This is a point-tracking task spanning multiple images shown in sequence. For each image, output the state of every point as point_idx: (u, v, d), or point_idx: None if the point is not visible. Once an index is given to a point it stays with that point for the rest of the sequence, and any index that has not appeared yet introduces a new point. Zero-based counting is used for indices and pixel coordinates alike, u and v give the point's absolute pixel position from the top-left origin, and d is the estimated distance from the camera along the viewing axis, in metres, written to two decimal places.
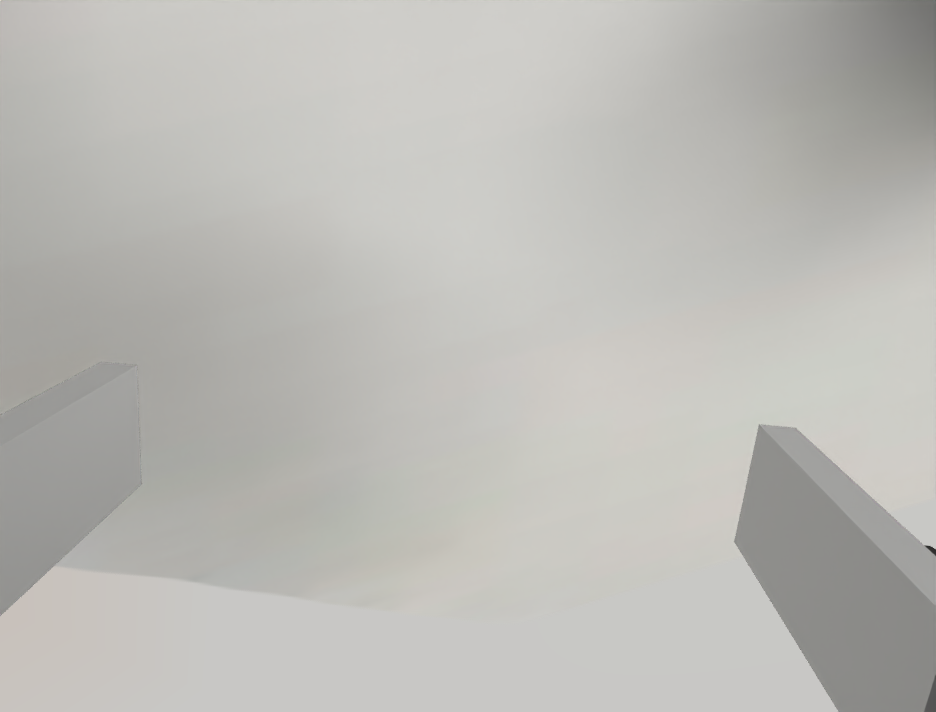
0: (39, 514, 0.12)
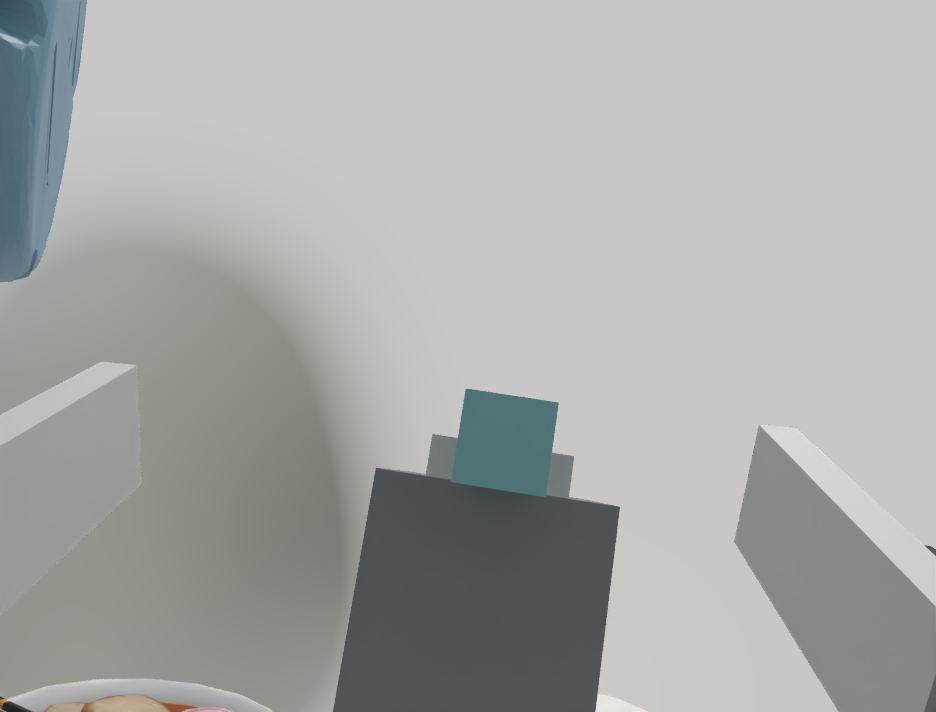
0: (39, 514, 0.12)
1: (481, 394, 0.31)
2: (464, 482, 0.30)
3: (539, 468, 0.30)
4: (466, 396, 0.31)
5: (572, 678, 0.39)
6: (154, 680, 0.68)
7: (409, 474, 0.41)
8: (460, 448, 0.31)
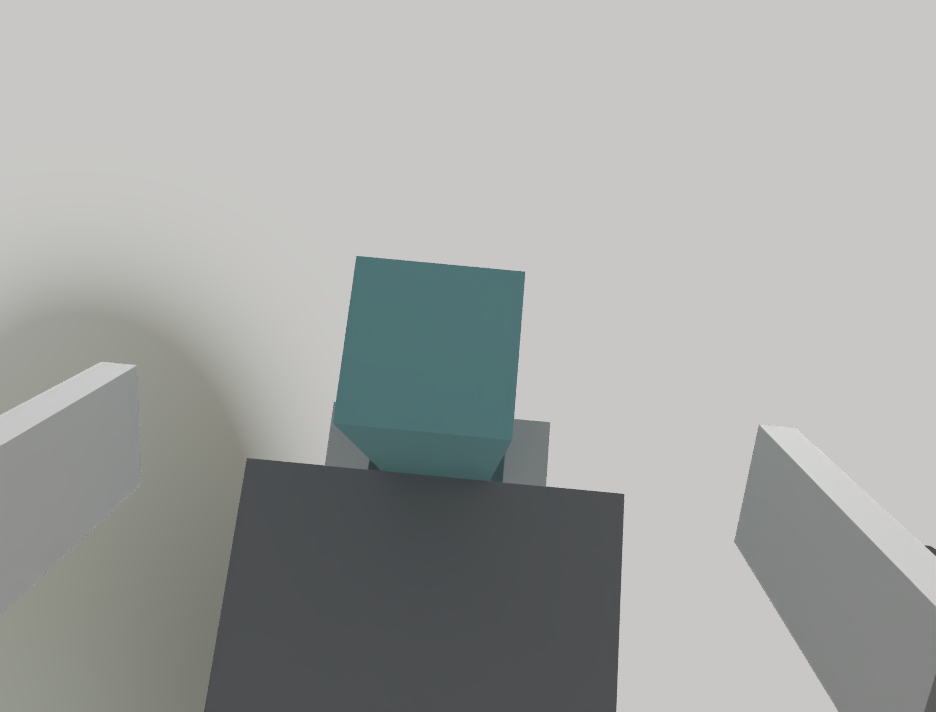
0: (39, 514, 0.12)
1: (384, 265, 0.17)
2: (358, 422, 0.16)
3: (497, 387, 0.16)
4: (358, 269, 0.17)
5: None
6: None
7: (299, 465, 0.27)
8: (350, 360, 0.16)
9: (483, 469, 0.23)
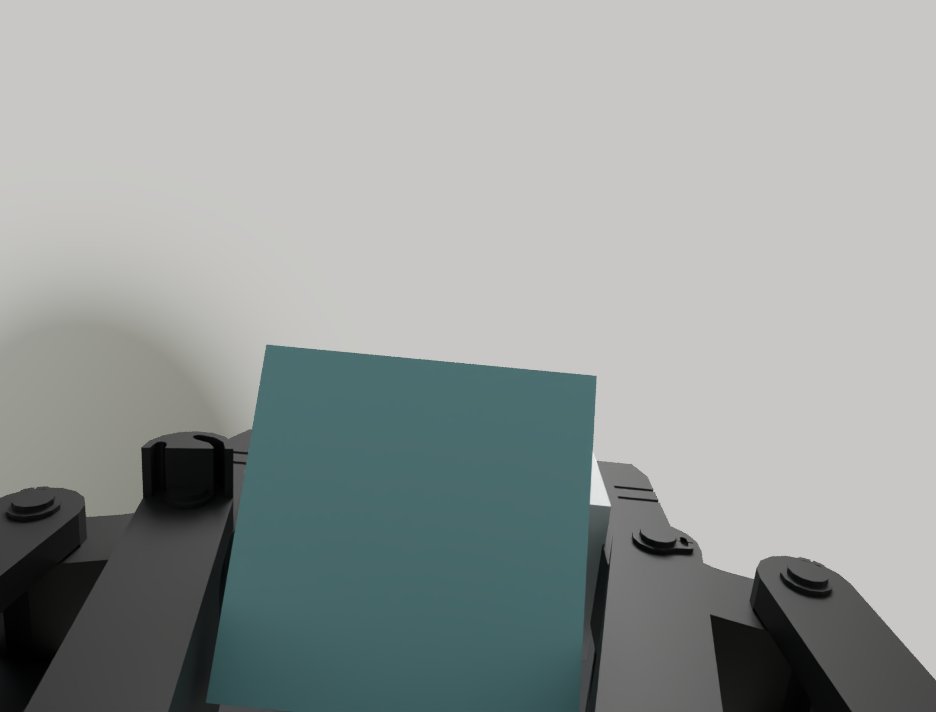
0: None
1: (322, 363, 0.09)
2: (258, 701, 0.08)
3: (544, 622, 0.08)
4: (268, 372, 0.09)
5: None
6: None
7: None
8: (246, 564, 0.08)
9: None
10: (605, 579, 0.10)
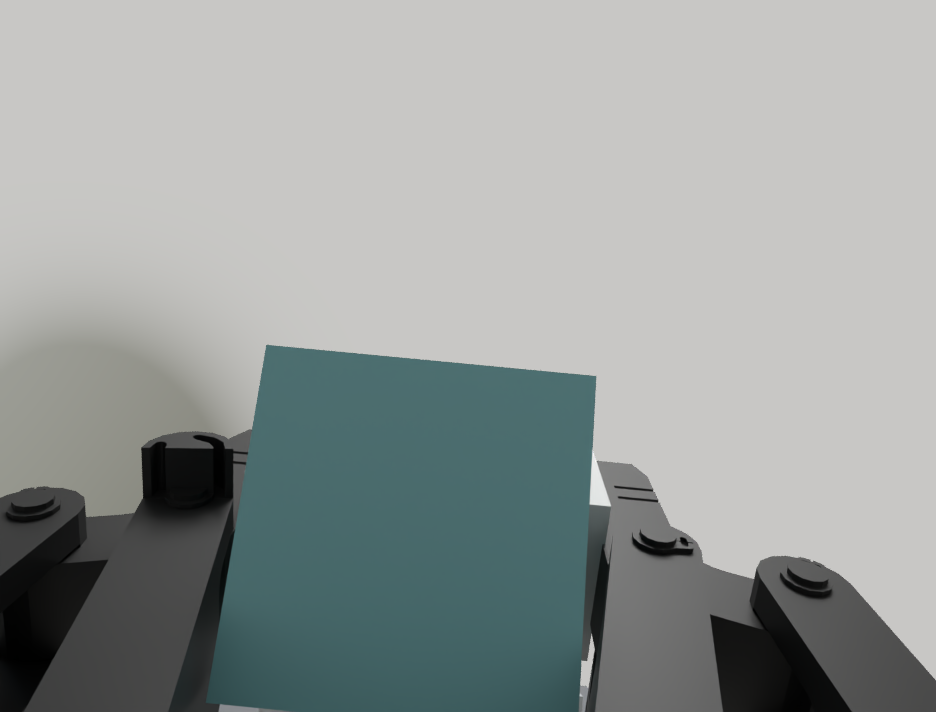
0: None
1: (321, 363, 0.09)
2: (257, 701, 0.08)
3: (544, 622, 0.08)
4: (268, 372, 0.09)
5: None
6: None
7: None
8: (247, 564, 0.08)
9: None
10: (606, 579, 0.10)
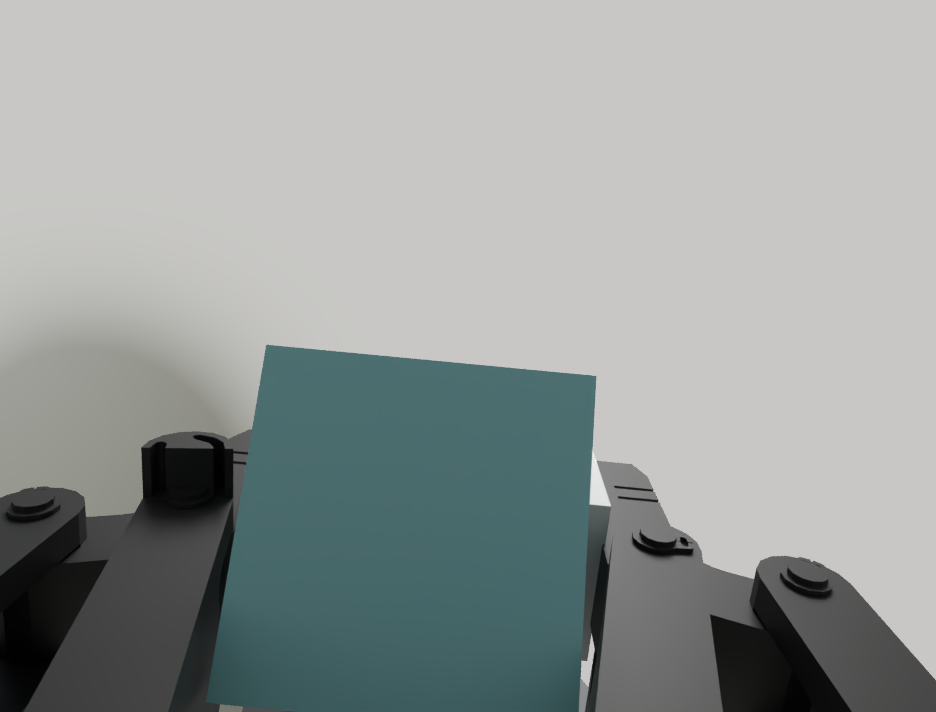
0: None
1: (321, 362, 0.09)
2: (258, 701, 0.08)
3: (544, 622, 0.08)
4: (269, 372, 0.09)
5: None
6: None
7: None
8: (247, 564, 0.08)
9: None
10: (605, 578, 0.10)
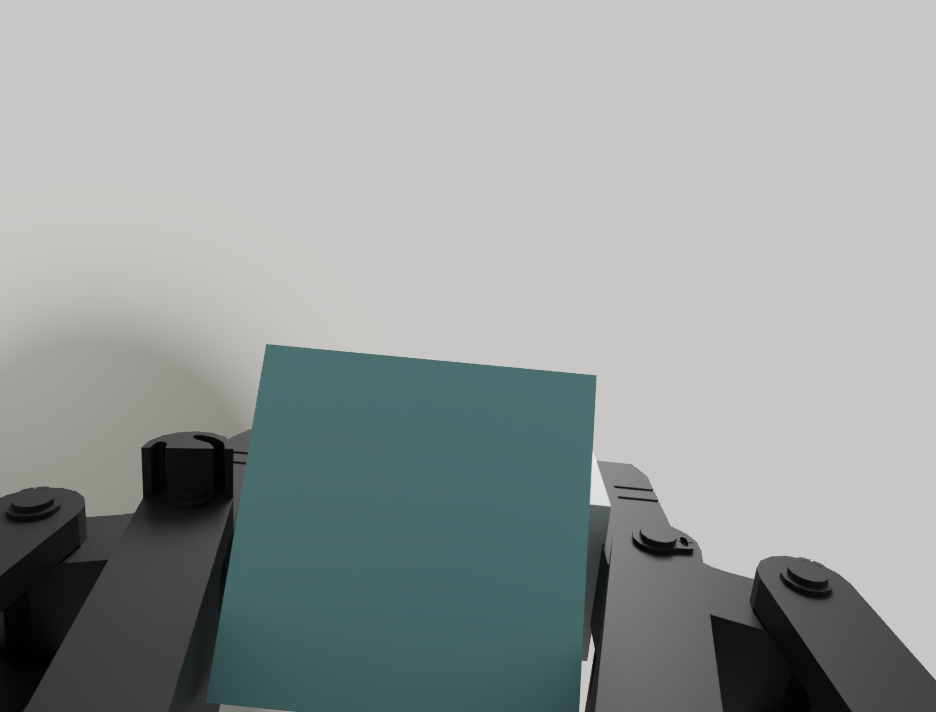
0: None
1: (322, 362, 0.09)
2: (258, 701, 0.08)
3: (545, 621, 0.08)
4: (268, 371, 0.09)
5: None
6: None
7: None
8: (246, 563, 0.08)
9: None
10: (605, 579, 0.10)
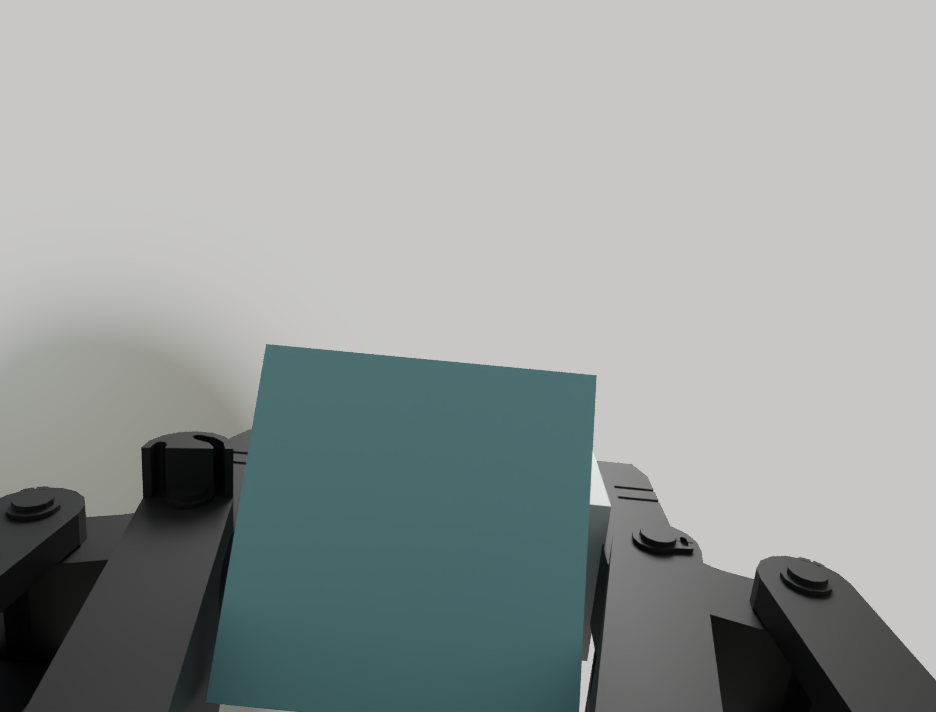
0: None
1: (322, 362, 0.09)
2: (258, 701, 0.08)
3: (545, 621, 0.08)
4: (268, 371, 0.09)
5: None
6: None
7: None
8: (246, 563, 0.08)
9: None
10: (605, 579, 0.10)
